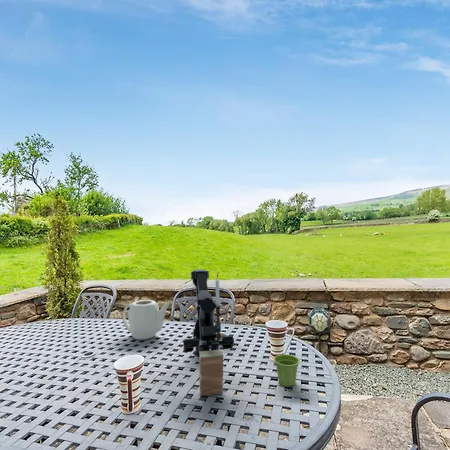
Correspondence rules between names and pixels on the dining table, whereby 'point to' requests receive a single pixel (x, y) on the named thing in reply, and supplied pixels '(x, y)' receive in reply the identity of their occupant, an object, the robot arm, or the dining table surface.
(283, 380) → the plant pot
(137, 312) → the white lidless teapot
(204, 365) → the tile
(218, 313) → the candlestick
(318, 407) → the dining table surface
